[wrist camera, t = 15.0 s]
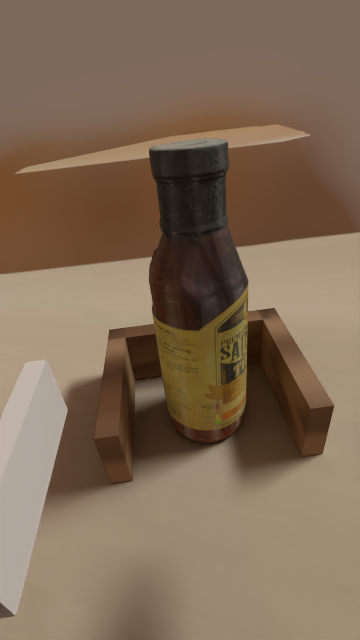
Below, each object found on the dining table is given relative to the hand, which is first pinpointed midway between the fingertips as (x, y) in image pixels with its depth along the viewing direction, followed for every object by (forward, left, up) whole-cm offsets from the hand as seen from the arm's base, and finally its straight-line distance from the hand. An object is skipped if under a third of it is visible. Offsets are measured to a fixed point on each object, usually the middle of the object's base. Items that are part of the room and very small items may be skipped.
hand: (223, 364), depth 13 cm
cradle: (-4, -8, -13) cm, 16 cm away
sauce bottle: (-4, -8, -13) cm, 16 cm away
